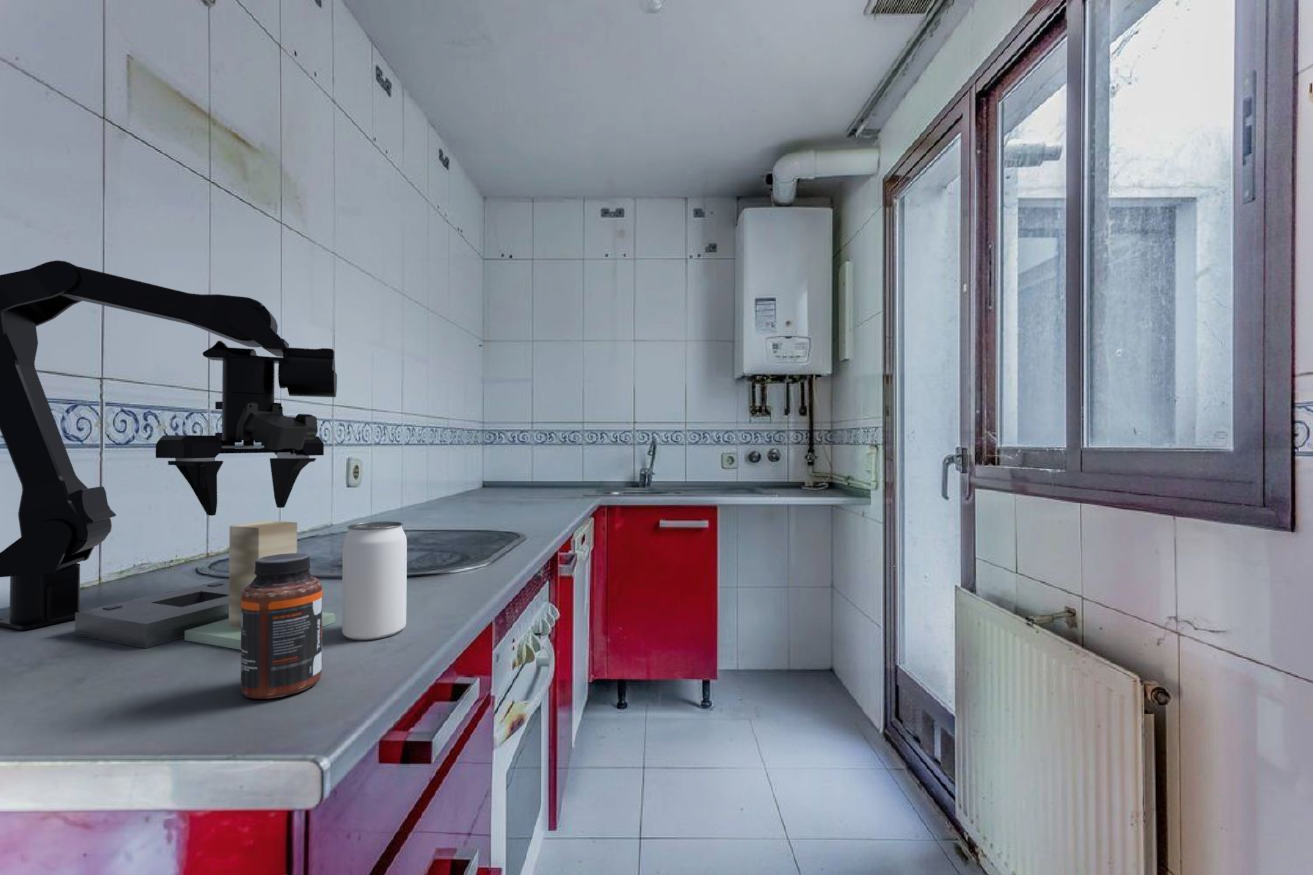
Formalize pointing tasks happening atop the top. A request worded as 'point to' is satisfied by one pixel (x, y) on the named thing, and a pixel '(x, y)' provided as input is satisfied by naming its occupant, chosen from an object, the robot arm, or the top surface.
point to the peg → (254, 555)
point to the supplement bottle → (281, 628)
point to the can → (374, 580)
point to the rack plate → (156, 616)
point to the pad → (229, 632)
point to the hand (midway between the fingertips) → (247, 511)
